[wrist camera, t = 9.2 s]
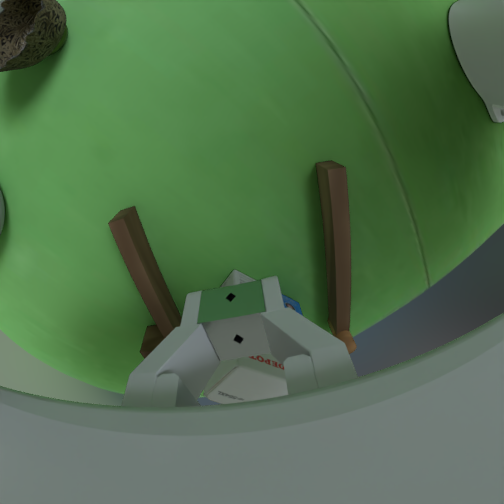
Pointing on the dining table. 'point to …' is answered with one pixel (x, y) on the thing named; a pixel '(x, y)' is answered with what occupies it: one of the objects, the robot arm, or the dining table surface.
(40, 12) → the cup
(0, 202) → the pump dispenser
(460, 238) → the dining table surface
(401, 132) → the dining table surface
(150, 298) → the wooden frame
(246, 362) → the ink box
